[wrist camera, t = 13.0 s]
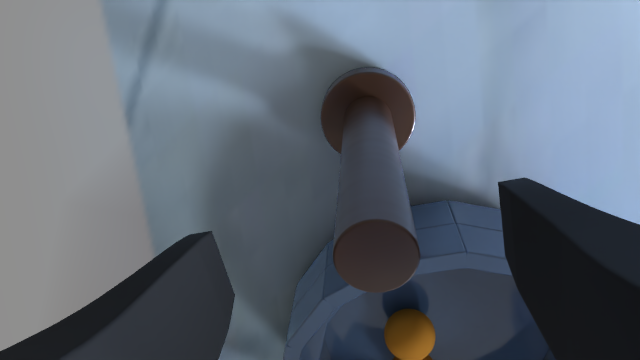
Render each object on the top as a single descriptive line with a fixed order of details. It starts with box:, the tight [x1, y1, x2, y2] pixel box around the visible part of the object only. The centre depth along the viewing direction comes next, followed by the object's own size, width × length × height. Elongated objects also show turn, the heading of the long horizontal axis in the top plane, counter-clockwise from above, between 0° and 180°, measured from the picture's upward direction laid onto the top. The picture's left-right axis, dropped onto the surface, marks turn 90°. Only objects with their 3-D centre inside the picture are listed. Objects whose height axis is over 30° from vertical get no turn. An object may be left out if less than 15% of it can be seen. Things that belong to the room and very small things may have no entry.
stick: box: [321, 67, 420, 293], centre depth 13 cm, size 3×3×9 cm
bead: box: [384, 309, 436, 360], centre depth 19 cm, size 2×2×2 cm
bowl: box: [283, 200, 556, 360], centre depth 19 cm, size 12×12×4 cm
